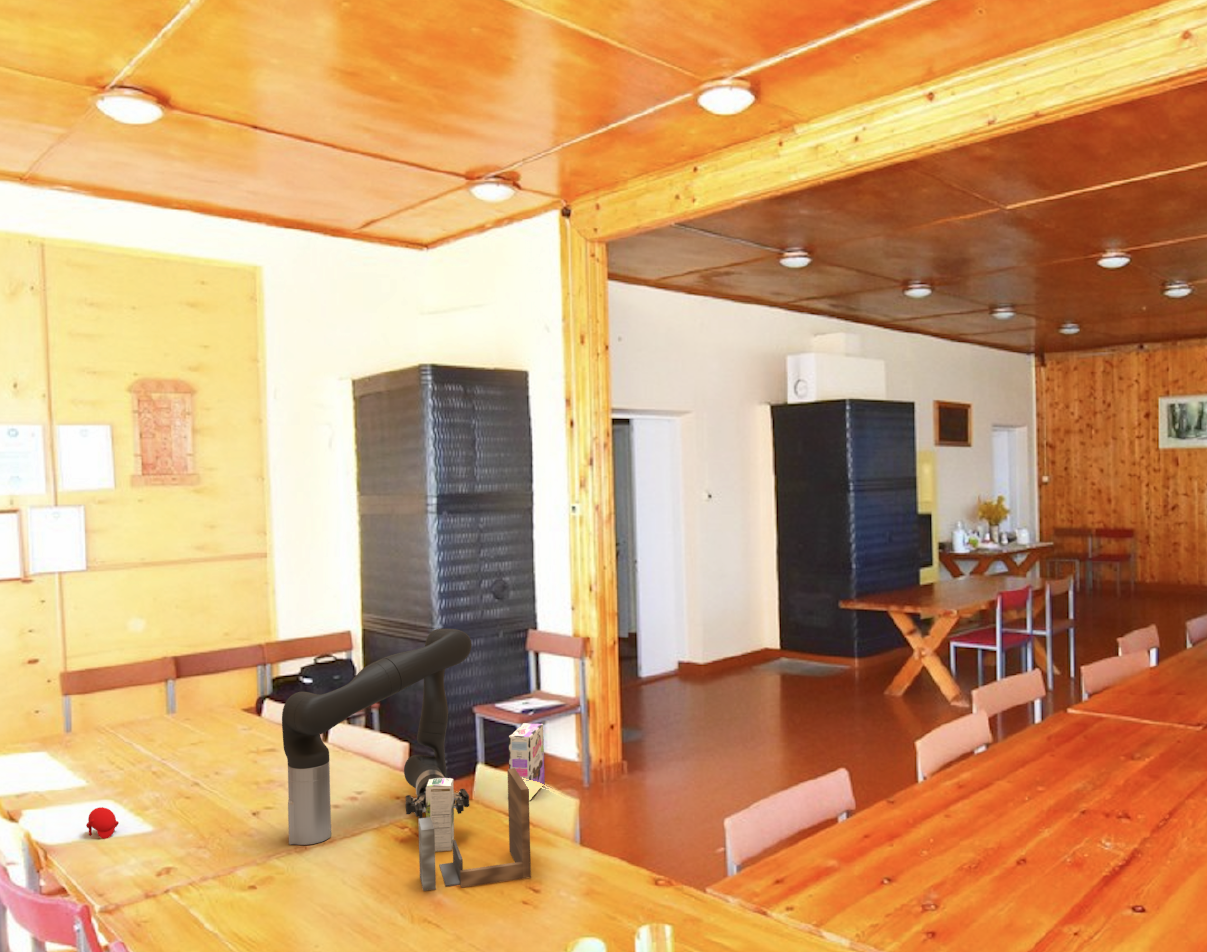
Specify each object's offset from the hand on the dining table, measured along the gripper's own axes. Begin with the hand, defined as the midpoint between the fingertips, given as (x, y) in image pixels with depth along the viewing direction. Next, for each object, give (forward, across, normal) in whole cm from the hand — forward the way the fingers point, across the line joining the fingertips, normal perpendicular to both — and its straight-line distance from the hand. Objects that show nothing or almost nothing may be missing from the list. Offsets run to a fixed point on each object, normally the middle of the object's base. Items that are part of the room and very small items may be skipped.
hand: (440, 811), depth 208 cm
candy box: (-31, +26, +8) cm, 41 cm away
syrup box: (-1, 0, +8) cm, 8 cm away
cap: (-37, -75, +8) cm, 84 cm away
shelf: (+15, +5, +8) cm, 18 cm away
